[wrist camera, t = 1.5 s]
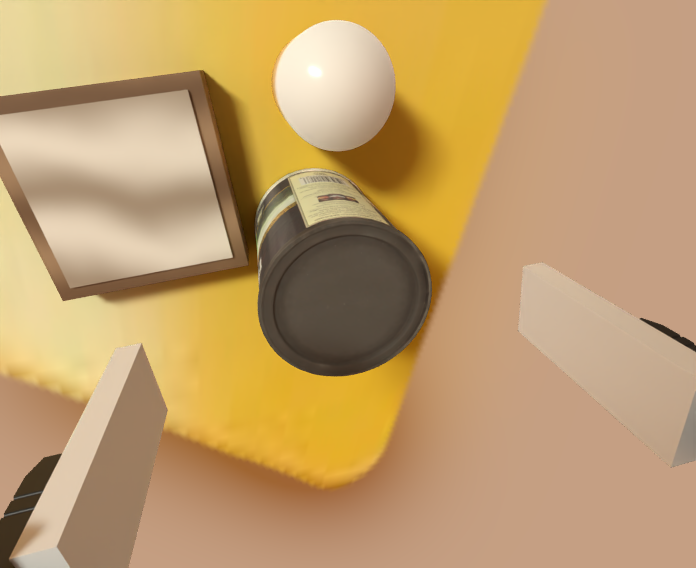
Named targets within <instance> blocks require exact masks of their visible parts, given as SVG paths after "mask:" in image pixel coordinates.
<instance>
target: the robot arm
mask: <svg viewBox="0 0 696 568" xmlns="http://www.w3.org/2000/svg"><path fill="white" fill-rule="evenodd" d="M518 332H520V333H521V334H522V335H523V336H524V337H525V338H526V339H527V340H529V341H530V342H531V343H532V344H533V345H534V346H535V347H537V348H538V349H539V350H540V351H541V352H542V353H543V354H544V355H545V356H546V357H548V358H549V359H550V360H551V361H552V362H553V363H554V364H555V365H556V366H558V367H559V368H560V369H561V370H562V371H563V372H564V373H566V374H567V375H568V376H569V377H570V378H571V379H572V380H573V381H574V382H576V383H577V384H578V385H579V386H580V387H581V388H583V390H585V391H586V392H587V393H588V394H589V395H590V396H591V397H592V398H593V399H595V400H596V401H597V402H598V403H599V404H600V405H601V406H602V407H604V408H605V409H606V410H607V411H608V412H609V413H610V414H611V415H612V416H614V417H615V418H616V419H617V420H618V421H619V422H620V423H621V424H622V425H624V426H625V427H626V428H627V429H628V430H629V431H630V432H632V433H633V434H634V435H635V436H636V437H637V438H638V439H639V440H640V441H642V442H643V443H644V444H645V445H646V446H647V447H648V448H649V449H650V450H652V451H653V452H654V453H655V454H656V455H657V456H658V457H659V458H661V459H662V460H663V461H664V462H665V463H666V464H667V465H668V466H669V467H671V468H672V467H675V466H678V465H682V464H685V463H689V462H692V461H695V460H696V346H695V345H694V343H693V342H691V341H690V340H688V339H686V338H684V337H680V335H679V334H677V333H675V332H674V331H672V330H670V329H669V328H667V327H665V326H663V325H661V324H658V323H655V322H652V321H649V320H646V319H643V318H640V319H638V318H637V317H635V316H633V315H632V314H630V313H628V312H626V311H624V310H623V309H621V308H620V307H618V306H616V305H614V304H613V303H611V302H609V301H608V300H606V299H604V298H603V297H601V296H599V295H597V294H596V293H594V292H592V291H591V290H589V289H587V288H586V287H584V286H582V285H580V284H579V283H577V282H575V281H574V280H572V279H570V278H568V277H566V276H565V275H563V274H562V273H560V272H558V271H557V270H555V269H553V268H551V267H550V266H548V265H546V264H544V263H543V262H542V263H537V264H532V265H527V266H523V276H522V289H521V302H520V314H519V326H518ZM167 411H168V410H167V407H166V405H165V402H164V400H163V397H162V394H161V392H160V389H159V387H158V384H157V382H156V379H155V376H154V374H153V371H152V369H151V366H150V364H149V361H148V358H147V356H146V353H145V351H144V348H143V346H142V343H139V344H135V345H130V346H125V347H120V348H116V349H115V351H114V353H113V355H112V357H111V359H110V361H109V363H108V365H107V367H106V369H105V371H104V373H103V375H102V377H101V379H100V380H99V382H98V384H97V386H96V388H95V390H94V392H93V394H92V396H91V398H90V400H89V402H88V404H87V406H86V408H85V410H84V412H83V414H82V416H81V418H80V420H79V422H78V424H77V426H76V428H75V430H74V432H73V434H72V436H71V438H70V440H69V442H68V444H67V445H66V448H65V449H64V452H63V453H62V454H57V455H53V456H49V457H45V458H43V459H42V460H41V461H40V462H39V463H38V464H37V465H36V467H34V468H33V470H31V471H30V473H28V475H26V476H25V478H24V480H23V481H22V483H21V485H20V487H19V488H18V490H17V492H16V494H15V495H14V501H11V502H10V504H9V506H8V508H7V509H6V511H5V513H4V518H1V520H0V568H128V567H129V563H130V559H131V555H132V551H133V547H134V543H135V539H136V535H137V531H138V527H139V523H140V519H141V515H142V511H143V507H144V503H145V499H146V495H147V491H148V487H149V483H150V479H151V475H152V470H153V467H154V463H155V458H156V455H157V451H158V446H159V443H160V439H161V434H162V431H163V427H164V423H165V419H166V415H167Z"/></svg>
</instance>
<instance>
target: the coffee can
mask: <svg viewBox="0 0 696 568" xmlns="http://www.w3.org/2000/svg"><path fill="white" fill-rule="evenodd" d="M254 228H255V237H256V244H257V257H258V278H259V295H258V316H259V322H260V326H261V329H262V331H263V334H264V336H265V338H266V339H267V341H268V343H269V344H270V346H271V347H272V348H273V349H274V351H275V352H276V353H277V354H278V355H279V356H280V357H281V358H282V359H284V360H285V361H286V362H288V363H289V364H291V365H292V366H294V367H296V368H298V369H301V370H303V371H306V372H309V373H312V374H316V375H323V376H348V375H354V374H358V373H362V372H365V371H368V370H371V369H374V368H376V367H378V366H380V365H382V364H384V363H386V362H387V361H389V360H390V359H392V358H393V357H395V356H396V355H397V354H399V353H400V352H401V351H402V350H403V349H404V348H406V347H407V345H408V344H409V343H410V342H411V341H412V340H413V339H414V337H415V336H416V335H417V333H418V332H419V330H420V328H421V327H422V325H423V323H424V321H425V319H426V316H427V313H428V310H429V307H430V303H431V296H432V282H431V276H430V271H429V268H428V265H427V263H426V260H425V258H424V256H423V255H422V253H421V252H420V250H419V249H418V248H417V247H416V245H415V244H414V243H413V242H412V241H411V240H410V239H409V238H408V237H407V236H406V235H404V234H403V233H402V232H400V231H399V230H397V229H396V228H395V227H394V226H393V225H392V224H391V223H390V222H389V221H388V220H387V219H386V218H385V216H384V215H383V214H382V213H381V212H380V211H379V210H378V209H377V208H376V207H375V206H374V205H373V204H372V203H371V202H370V201H369V200H368V199H367V198H366V197H365V196H364V195H363V193H362V192H361V190H360V189H359V188H358V187H357V185H356V184H355V183H353V182H352V181H351V180H350V179H348V178H347V177H345V176H344V175H342V174H340V173H337V172H336V171H331V170H327V169H319V168H311V169H303V170H299V171H296V172H293V173H290V174H287V175H286V176H284V177H283V178H281V179H280V180H278V181H277V182H276V183H274V184H273V185H272V186H271V187H270V188H269V189H268V191H267V192H266V193H265V195H264V196H263V198H262V200H261V201H260V204H259V206H258V208H257V211H256V216H255V223H254Z"/></svg>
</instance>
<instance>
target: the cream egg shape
mask: <svg viewBox="0 0 696 568" xmlns="http://www.w3.org/2000/svg"><path fill="white" fill-rule="evenodd" d="M272 92H273V96H274V100H275V103H276V105H277V107H278V109H279V111H280V113H281V114H282V115H283V117H284V118H285V119H286V121H287V122H288V123H289V124H290V126H291V127H292V128H293V129H294V131H295V132H296V133H297V134H298V135H299V136H300V137H301V138H302V139H304V140H305V141H307V142H308V143H310V144H311V145H313V146H315V147H317V148H320V149H324V150H328V151H346V150H351V149H354V148H357V147H359V146H361V145H363V144H365V143H366V142H368V141H369V140H371V139H372V138H373V137H374V136H375V135H376V134H377V133H378V132H379V131H380V130H381V128H382V127H383V126H384V124H385V122H386V121H387V119H388V117H389V115H390V112H391V109H392V107H393V102H394V98H395V74H394V70H393V65H392V63H391V60H390V57H389V55H388V53H387V51H386V49H385V48H384V46H383V45H382V43H381V42H380V41H379V40H378V39H377V38H376V37H375V36H374V35H373V34H372V33H371V32H370V31H368V30H367V29H365V28H364V27H362V26H360V25H358V24H355V23H352V22H348V21H342V20H330V21H325V22H321V23H318V24H316V25H313V26H312V27H310V28H308V29H306V30H305V31H304V32H302V33H301V34H300V35H298V36H297V37H295V38H294V39H293V40H291V41H290V42H289V43H288V44H287V45H286V46H285V47H284V48H283V49H282V51H281V52H280V53H279V55H278V57H277V59H276V62H275V64H274V68H273V72H272Z"/></svg>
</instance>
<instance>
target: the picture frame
mask: <svg viewBox="0 0 696 568" xmlns="http://www.w3.org/2000/svg"><path fill="white" fill-rule="evenodd" d="M0 177H1V179H2V181H3V183H4V185H5V187H6V189H7V191H8V193H9V195H10V197H11V199H12V201H13V203H14V205H15V207H16V209H17V211H18V213H19V215H20V217H21V219H22V221H23V223H24V225H25V226H26V228H27V230H28V232H29V234H30V236H31V238H32V240H33V242H34V244H35V246H36V248H37V250H38V252H39V254H40V256H41V258H42V260H43V262H44V264H45V266H46V268H47V270H48V272H49V274H50V276H51V278H52V280H53V282H54V284H55V286H56V288H57V290H58V292H59V294H60V296H61V298H62V300H63V301H66V300H71V299H76V298H81V297H87V296H92V295H97V294H102V293H107V292H113V291H118V290H123V289H128V288H133V287H138V286H144V285H149V284H154V283H159V282H164V281H170V280H175V279H180V278H185V277H190V276H195V275H201V274H206V273H211V272H216V271H221V270H227V269H232V268H237V267H242V266H247V265H249V251H248V247H247V243H246V239H245V235H244V231H243V227H242V223H241V219H240V215H239V211H238V207H237V203H236V199H235V195H234V191H233V187H232V183H231V179H230V175H229V171H228V167H227V163H226V159H225V155H224V151H223V147H222V143H221V139H220V135H219V131H218V127H217V123H216V119H215V115H214V111H213V107H212V103H211V99H210V95H209V91H208V87H207V83H206V79H205V75H204V71H202V70H198V71H191V72H183V73H176V74H168V75H160V76H153V77H145V78H137V79H130V80H122V81H115V82H107V83H99V84H92V85H84V86H76V87H69V88H61V89H53V90H46V91H38V92H31V93H23V94H15V95H8V96H0Z"/></svg>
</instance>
